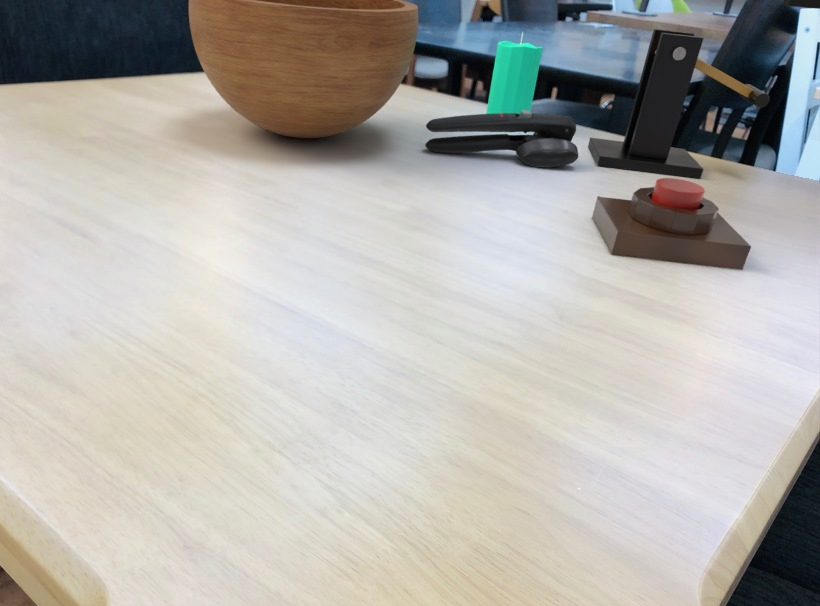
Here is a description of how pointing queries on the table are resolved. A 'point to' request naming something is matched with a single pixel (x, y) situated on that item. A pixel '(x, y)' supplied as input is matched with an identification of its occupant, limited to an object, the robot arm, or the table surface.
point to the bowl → (304, 59)
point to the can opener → (510, 136)
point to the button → (678, 193)
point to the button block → (669, 232)
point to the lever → (735, 84)
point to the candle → (514, 77)
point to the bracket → (656, 111)
